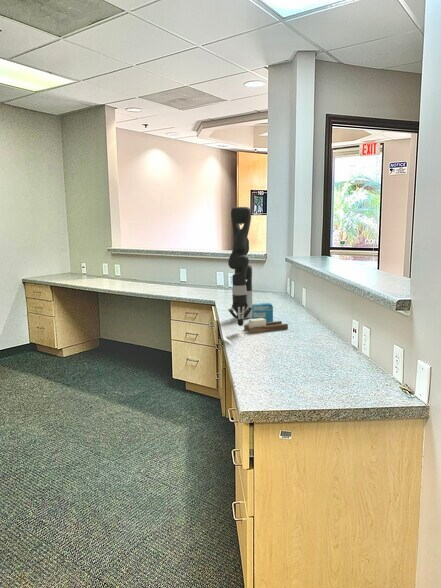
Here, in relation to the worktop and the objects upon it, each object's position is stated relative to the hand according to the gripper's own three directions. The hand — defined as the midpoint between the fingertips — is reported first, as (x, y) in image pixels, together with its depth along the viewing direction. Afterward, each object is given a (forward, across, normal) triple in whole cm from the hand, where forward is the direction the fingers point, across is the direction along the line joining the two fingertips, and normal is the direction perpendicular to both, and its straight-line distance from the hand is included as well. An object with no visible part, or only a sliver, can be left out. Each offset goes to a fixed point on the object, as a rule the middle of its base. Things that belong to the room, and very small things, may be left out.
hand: (240, 325), depth 225 cm
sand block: (+4, -10, 0) cm, 10 cm away
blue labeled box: (+5, -21, -18) cm, 28 cm away
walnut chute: (+5, -15, 0) cm, 16 cm away
